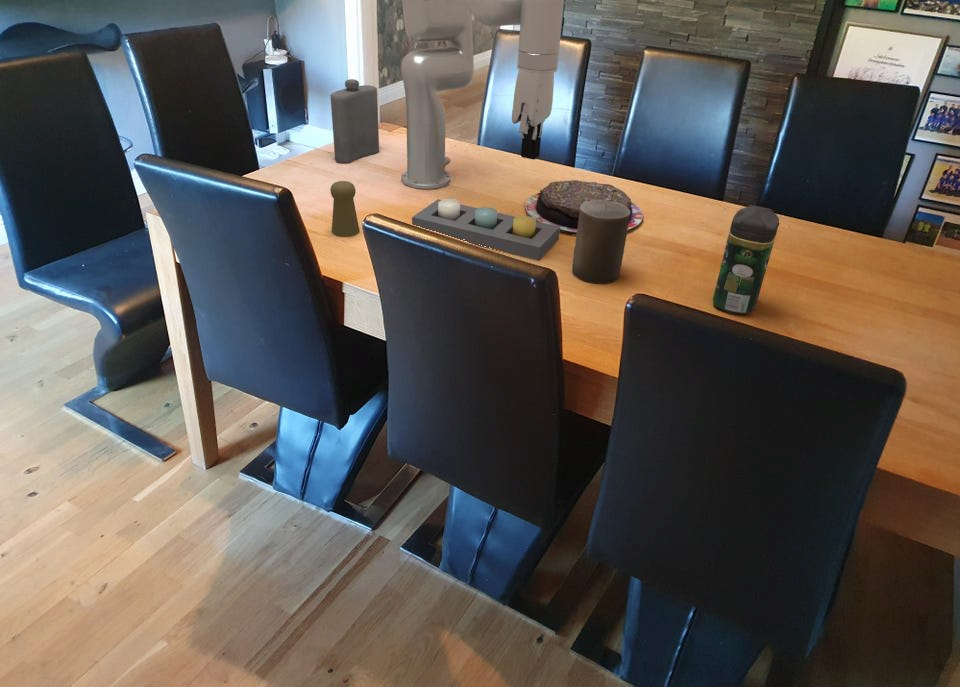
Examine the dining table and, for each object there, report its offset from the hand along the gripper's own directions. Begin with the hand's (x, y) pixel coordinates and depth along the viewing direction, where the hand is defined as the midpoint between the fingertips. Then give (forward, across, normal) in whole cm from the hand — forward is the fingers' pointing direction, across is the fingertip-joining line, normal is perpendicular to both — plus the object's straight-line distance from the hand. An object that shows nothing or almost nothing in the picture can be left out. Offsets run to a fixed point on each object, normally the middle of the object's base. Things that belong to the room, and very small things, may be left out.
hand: (530, 156), depth 143 cm
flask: (+19, -28, -62) cm, 70 cm away
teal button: (+17, 0, -9) cm, 19 cm away
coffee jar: (+19, +4, +45) cm, 49 cm away
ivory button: (+17, 0, -18) cm, 25 cm away
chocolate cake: (+20, -23, +6) cm, 31 cm away
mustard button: (+17, 0, 0) cm, 17 cm away
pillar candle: (+19, +5, +18) cm, 27 cm away
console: (+19, 0, -9) cm, 21 cm away
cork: (+19, +14, -36) cm, 43 cm away
